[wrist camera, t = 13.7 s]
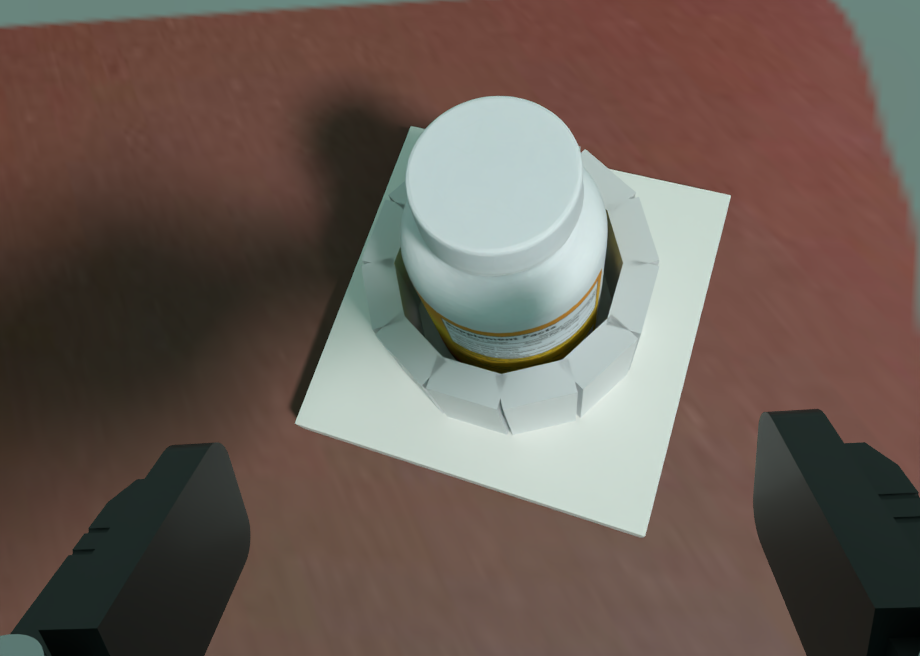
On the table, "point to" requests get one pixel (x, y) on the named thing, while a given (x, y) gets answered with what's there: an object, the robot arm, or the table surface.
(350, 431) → the sleeve holder
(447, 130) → the supplement bottle
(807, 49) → the table surface
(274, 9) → the table surface
